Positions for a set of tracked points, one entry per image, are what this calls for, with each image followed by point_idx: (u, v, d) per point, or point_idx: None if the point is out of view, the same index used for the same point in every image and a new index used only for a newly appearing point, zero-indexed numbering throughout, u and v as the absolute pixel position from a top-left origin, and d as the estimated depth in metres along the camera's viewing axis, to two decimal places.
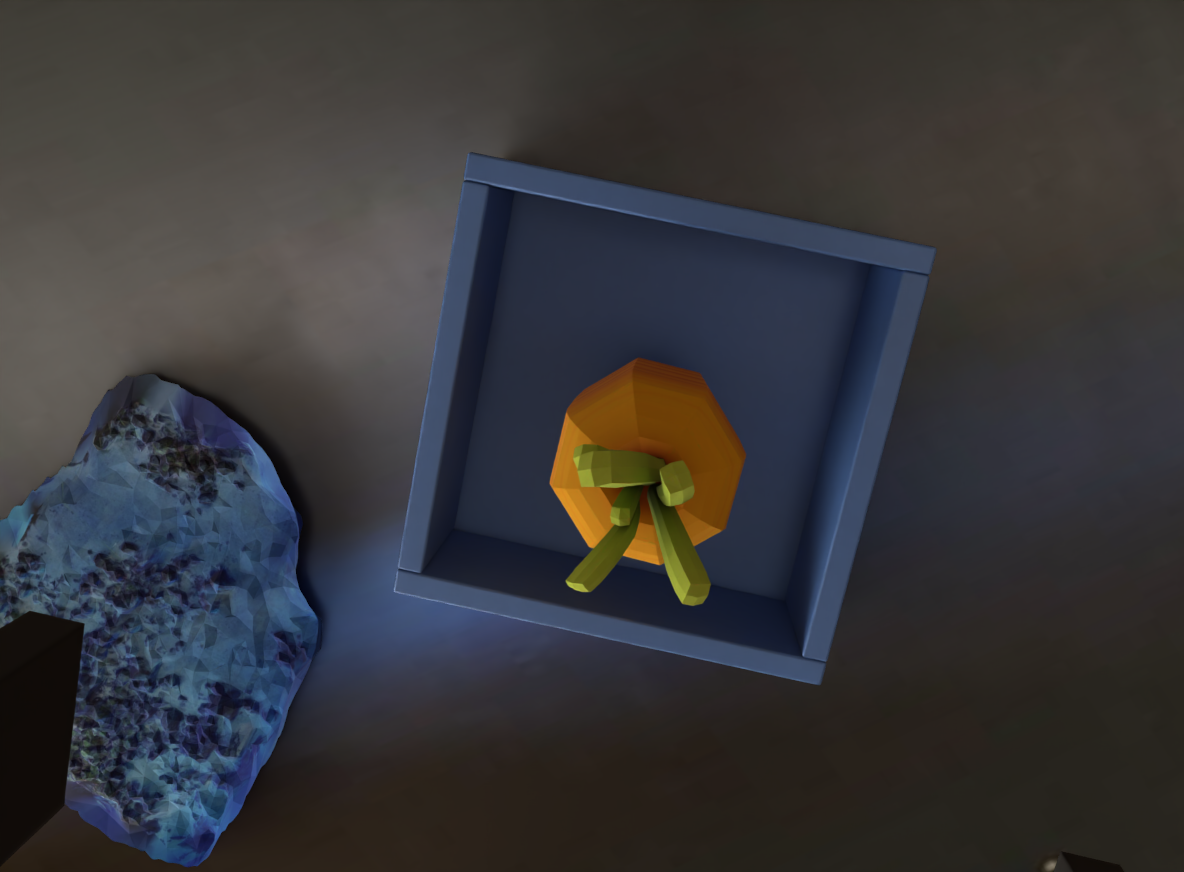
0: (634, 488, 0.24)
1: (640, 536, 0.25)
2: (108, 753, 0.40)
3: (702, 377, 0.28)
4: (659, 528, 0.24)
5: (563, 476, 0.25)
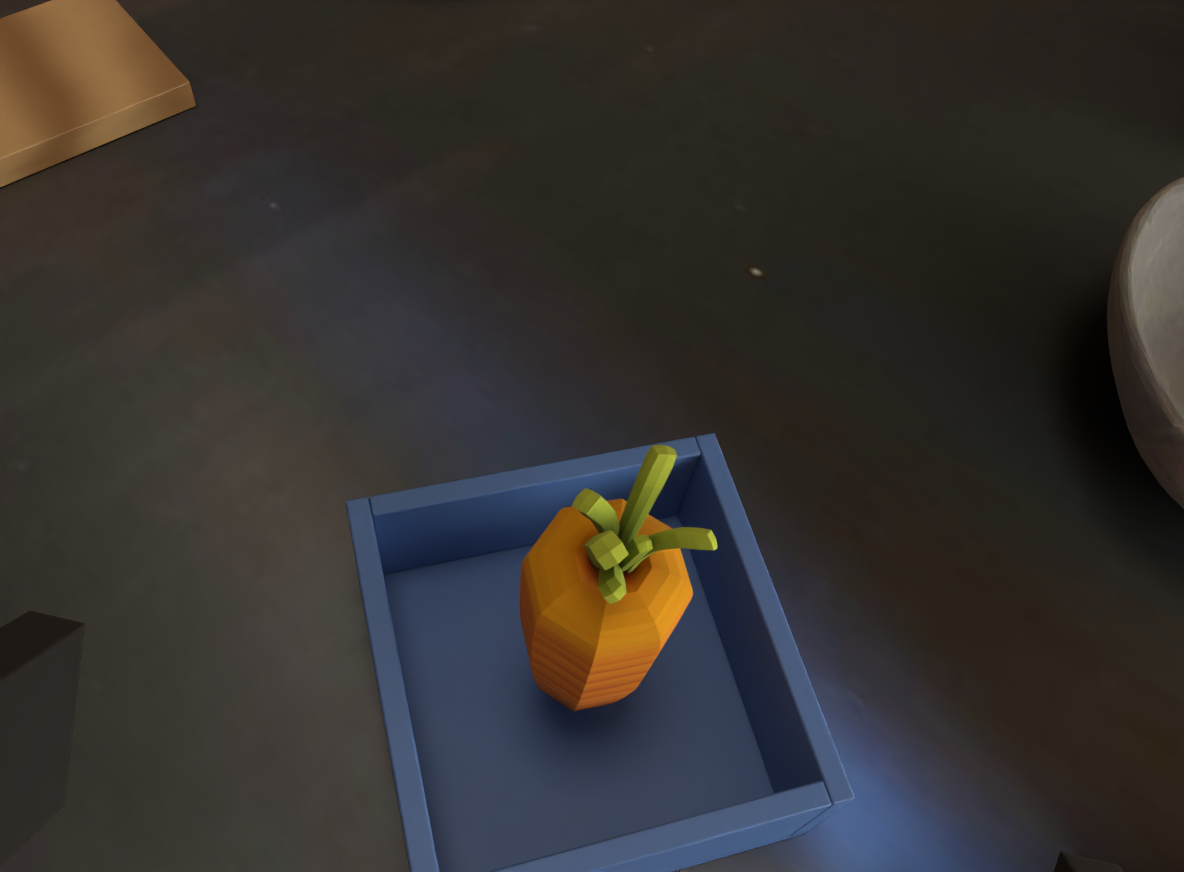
0: None
1: None
2: None
3: None
4: (638, 518, 0.28)
5: (645, 628, 0.28)
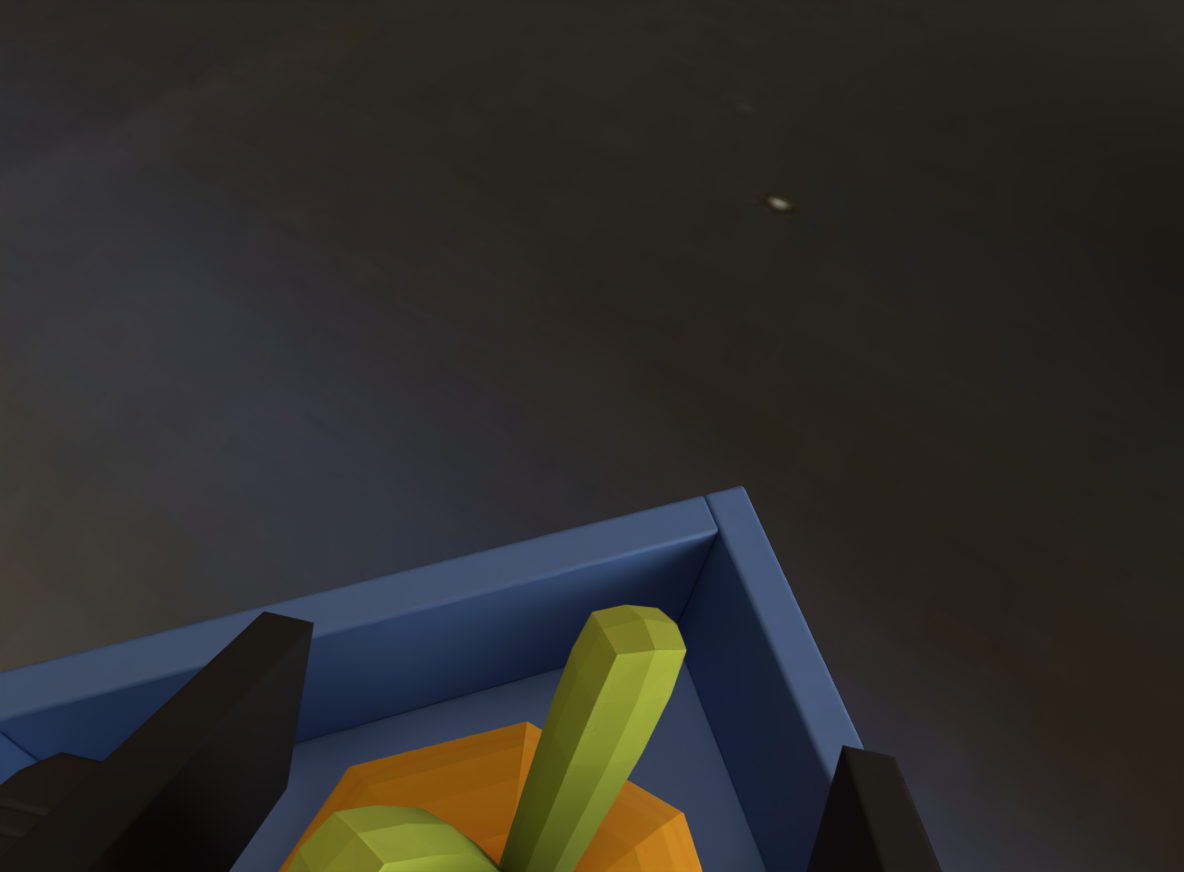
0: None
1: None
2: None
3: None
4: (562, 851, 0.08)
5: None
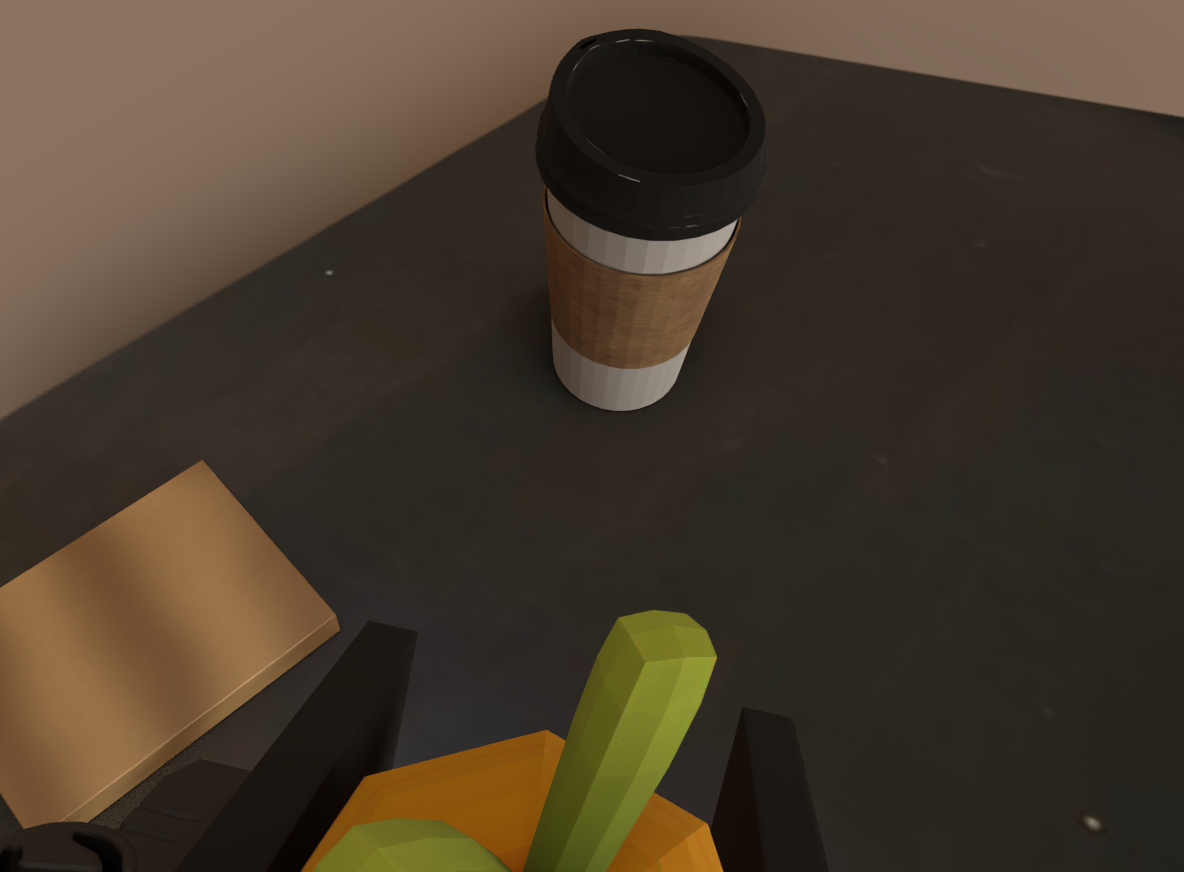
0: None
1: None
2: None
3: None
4: (586, 865, 0.08)
5: None
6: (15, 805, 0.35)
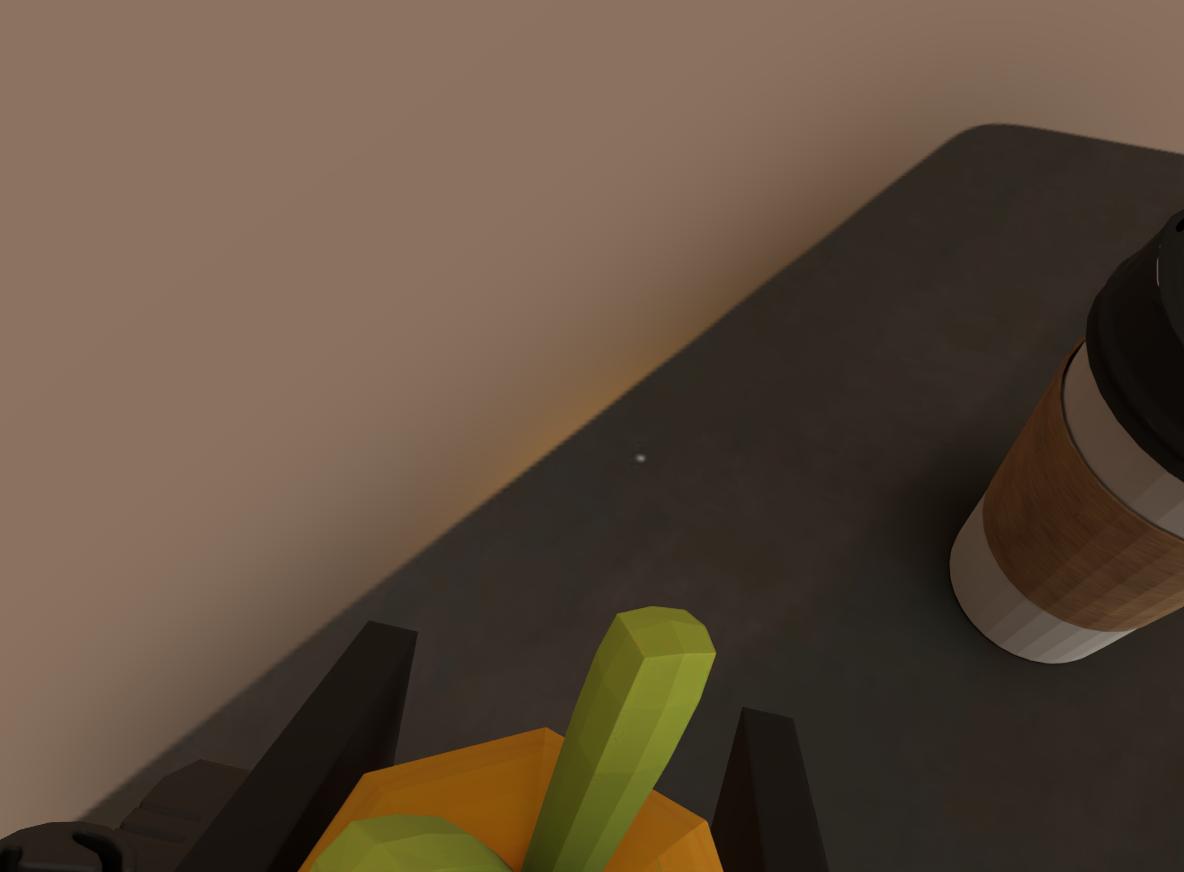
0: None
1: None
2: None
3: None
4: (586, 861, 0.08)
5: None
6: None
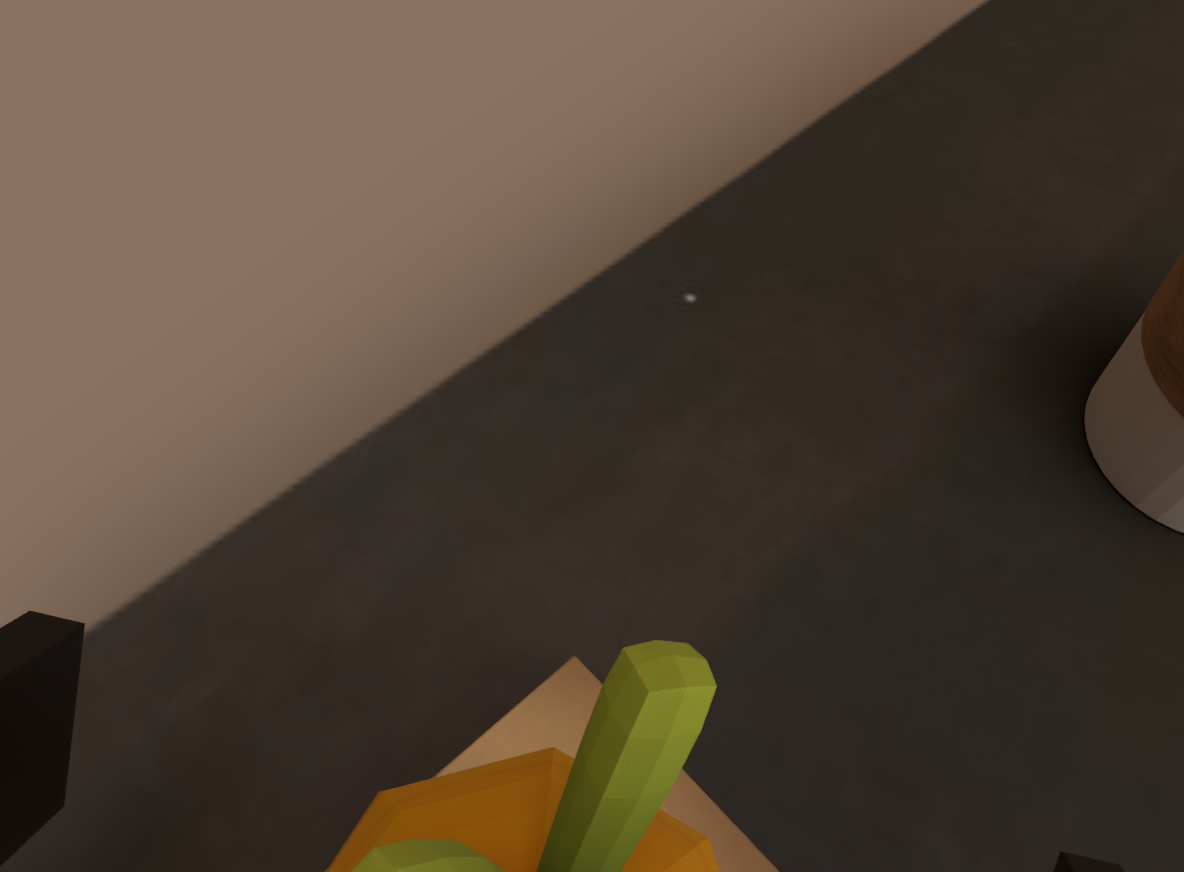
0: None
1: None
2: None
3: None
4: None
5: None
6: None
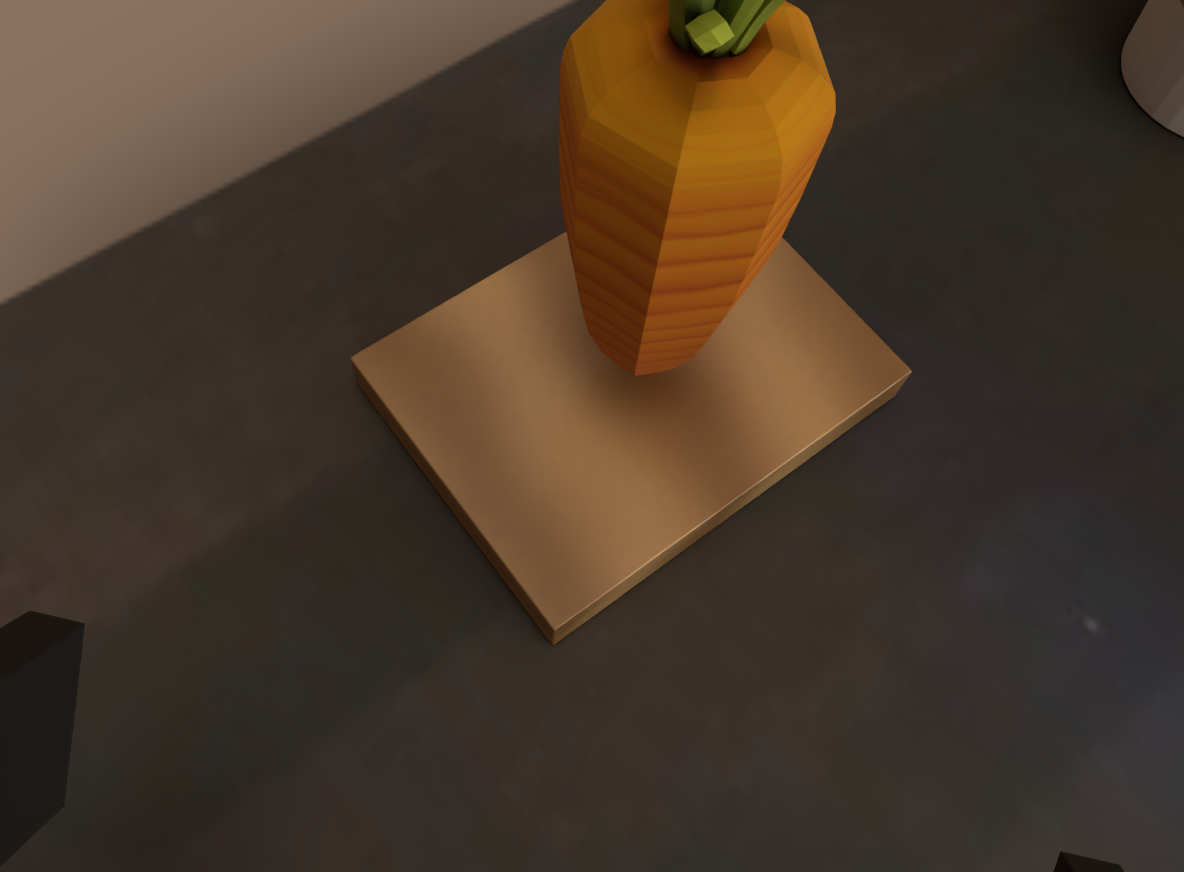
0: (722, 12, 0.17)
1: (783, 22, 0.18)
2: None
3: None
4: None
5: (759, 140, 0.17)
6: (524, 578, 0.25)
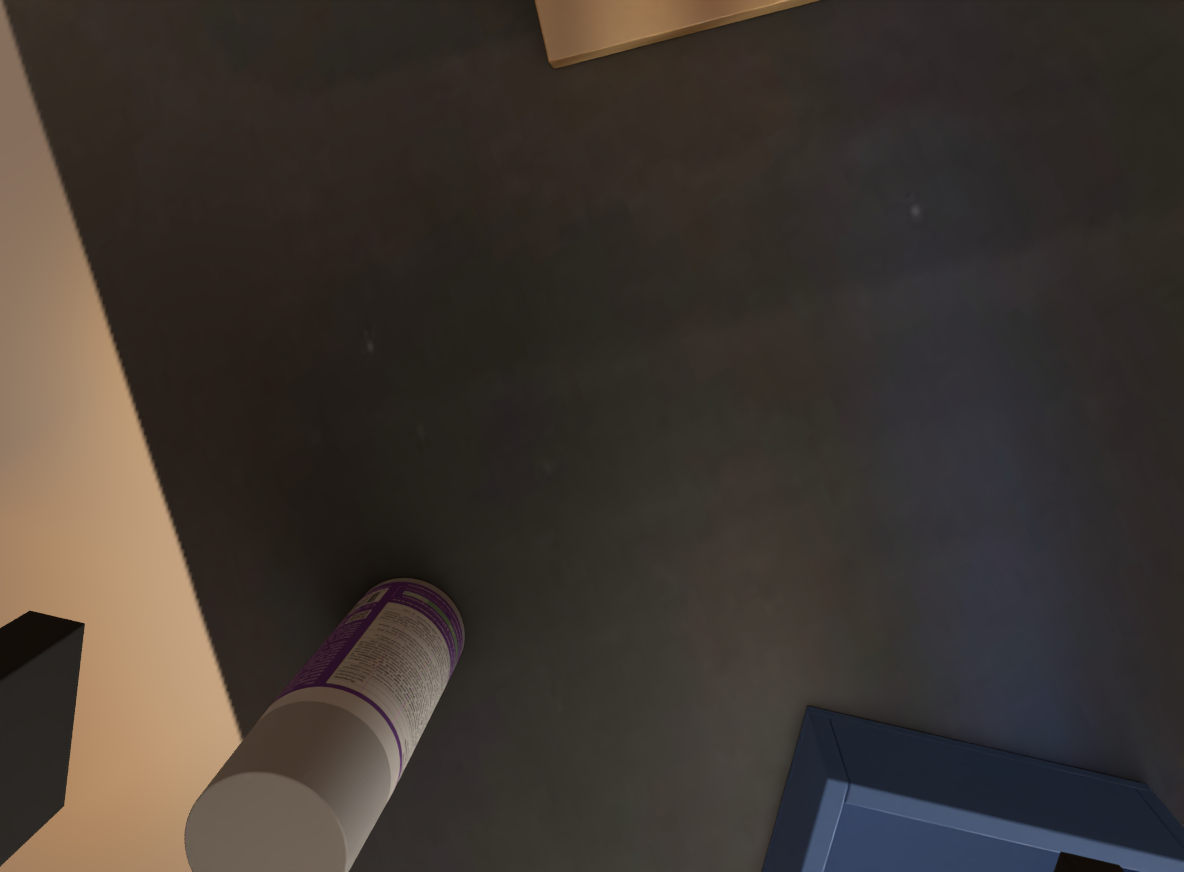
0: None
1: None
2: None
3: None
4: None
5: None
6: (543, 17, 0.36)
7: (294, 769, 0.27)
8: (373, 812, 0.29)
